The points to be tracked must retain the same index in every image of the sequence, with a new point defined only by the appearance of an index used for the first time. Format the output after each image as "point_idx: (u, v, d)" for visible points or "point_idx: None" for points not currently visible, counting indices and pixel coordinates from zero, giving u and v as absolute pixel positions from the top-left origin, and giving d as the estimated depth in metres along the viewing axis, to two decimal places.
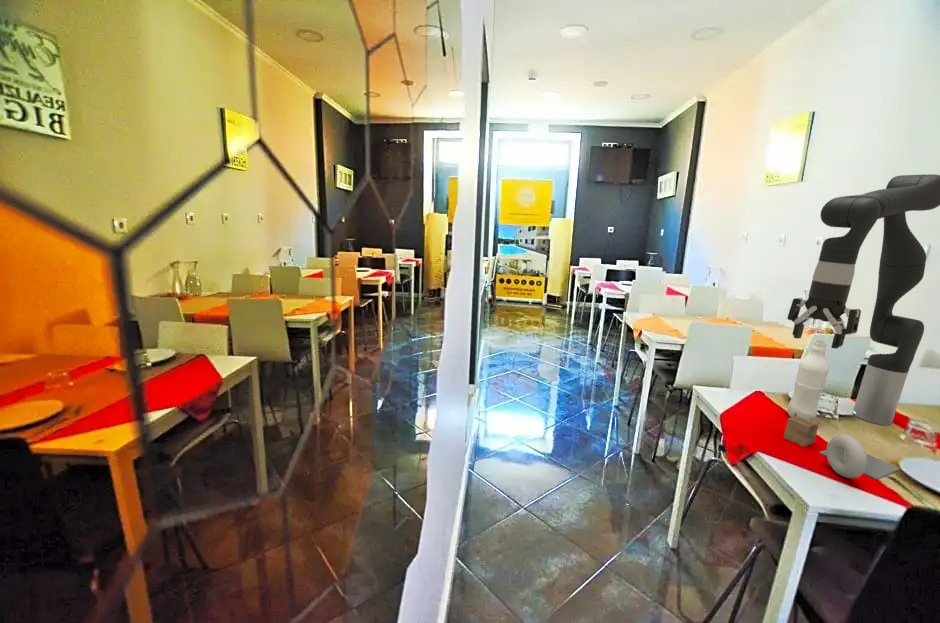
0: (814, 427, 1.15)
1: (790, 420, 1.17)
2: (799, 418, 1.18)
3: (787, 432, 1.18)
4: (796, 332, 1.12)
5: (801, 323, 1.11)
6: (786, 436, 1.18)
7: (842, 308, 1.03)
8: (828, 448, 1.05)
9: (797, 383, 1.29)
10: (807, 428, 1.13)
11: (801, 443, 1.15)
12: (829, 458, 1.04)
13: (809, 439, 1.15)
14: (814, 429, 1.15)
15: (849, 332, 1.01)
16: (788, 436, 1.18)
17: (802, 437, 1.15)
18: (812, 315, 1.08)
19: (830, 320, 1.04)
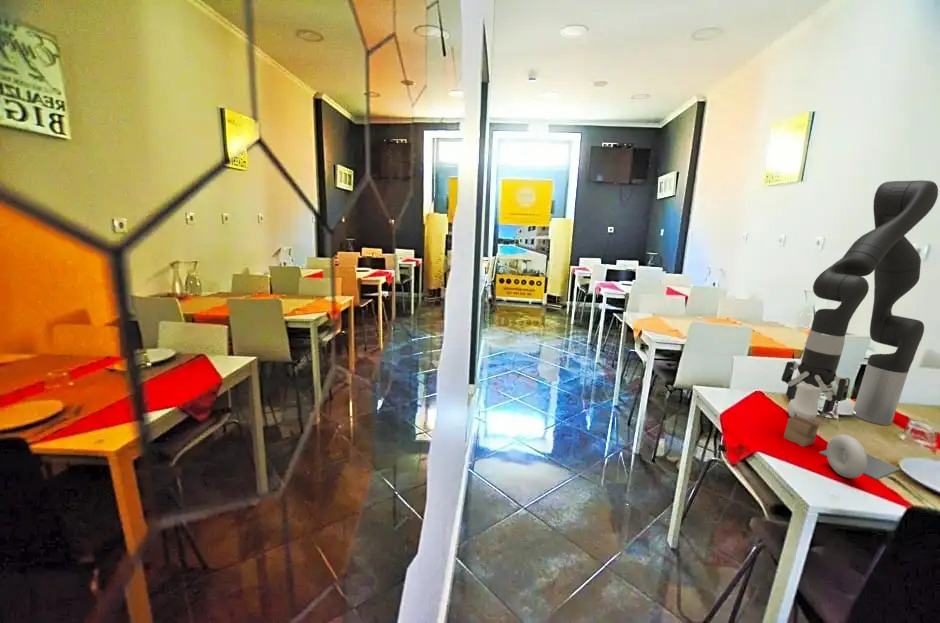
0: (814, 427, 1.15)
1: (790, 420, 1.17)
2: (799, 418, 1.18)
3: (787, 432, 1.18)
4: (789, 394, 1.18)
5: (794, 385, 1.18)
6: (786, 436, 1.18)
7: (832, 376, 1.09)
8: (828, 448, 1.05)
9: None
10: (808, 428, 1.13)
11: (801, 443, 1.15)
12: (829, 458, 1.04)
13: (809, 439, 1.15)
14: (814, 429, 1.15)
15: (839, 400, 1.08)
16: (788, 436, 1.18)
17: (802, 437, 1.15)
18: (804, 379, 1.15)
19: (821, 386, 1.11)
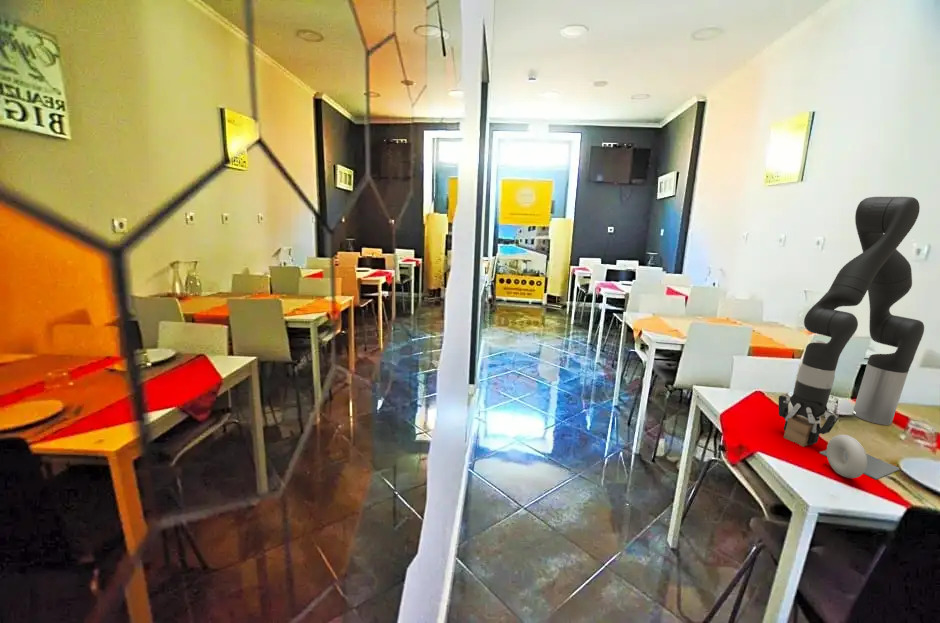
0: None
1: (790, 420, 1.17)
2: (799, 418, 1.18)
3: (787, 432, 1.18)
4: None
5: None
6: (786, 436, 1.18)
7: (823, 410, 1.11)
8: (828, 448, 1.05)
9: None
10: (808, 428, 1.13)
11: (801, 443, 1.15)
12: (829, 458, 1.04)
13: None
14: None
15: (822, 433, 1.11)
16: (788, 436, 1.18)
17: (802, 437, 1.15)
18: (799, 412, 1.16)
19: (809, 419, 1.14)
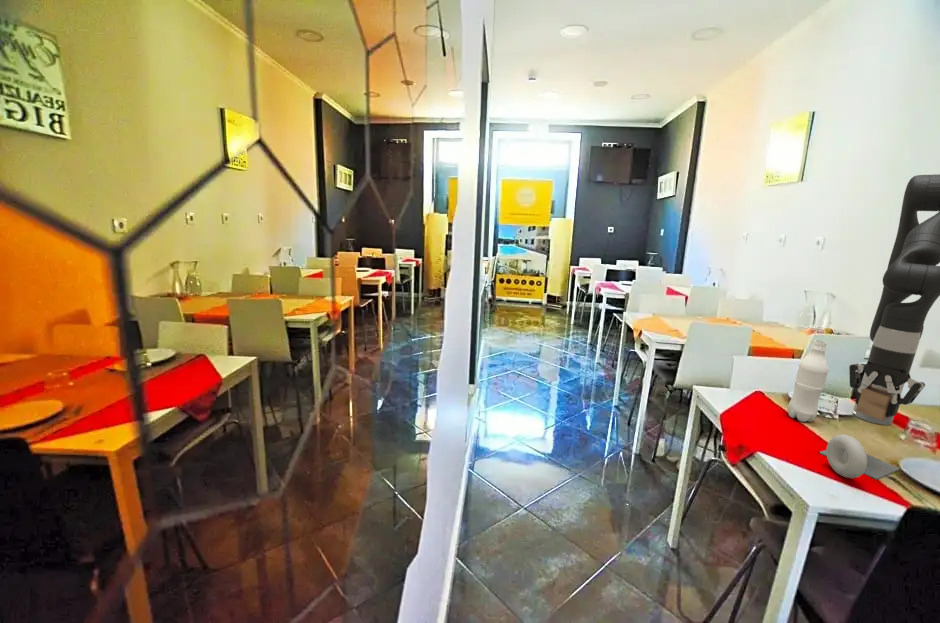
0: None
1: (865, 391, 1.05)
2: (874, 389, 1.06)
3: (861, 404, 1.06)
4: None
5: None
6: (859, 409, 1.06)
7: (906, 378, 0.99)
8: (828, 448, 1.05)
9: (797, 383, 1.29)
10: (887, 398, 1.01)
11: (879, 416, 1.03)
12: (829, 458, 1.04)
13: None
14: None
15: (905, 403, 0.99)
16: (862, 409, 1.06)
17: (880, 409, 1.03)
18: (875, 381, 1.04)
19: (889, 388, 1.02)
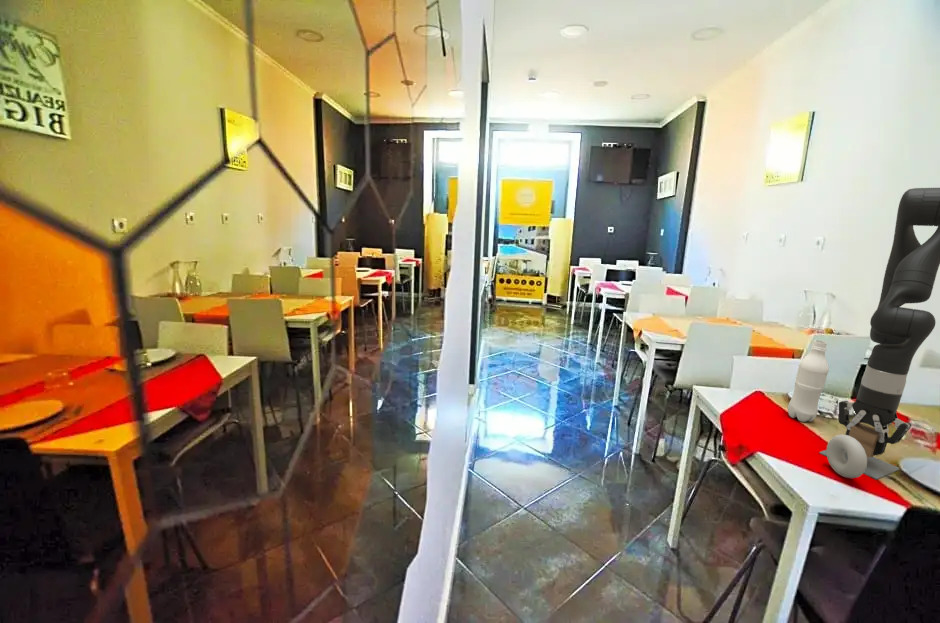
0: None
1: (853, 428, 1.07)
2: (863, 426, 1.08)
3: None
4: None
5: None
6: None
7: (893, 418, 1.02)
8: (828, 448, 1.05)
9: (797, 383, 1.29)
10: (875, 437, 1.04)
11: (866, 454, 1.05)
12: (829, 458, 1.04)
13: None
14: None
15: (892, 442, 1.02)
16: None
17: (867, 447, 1.05)
18: (863, 419, 1.07)
19: (876, 427, 1.04)
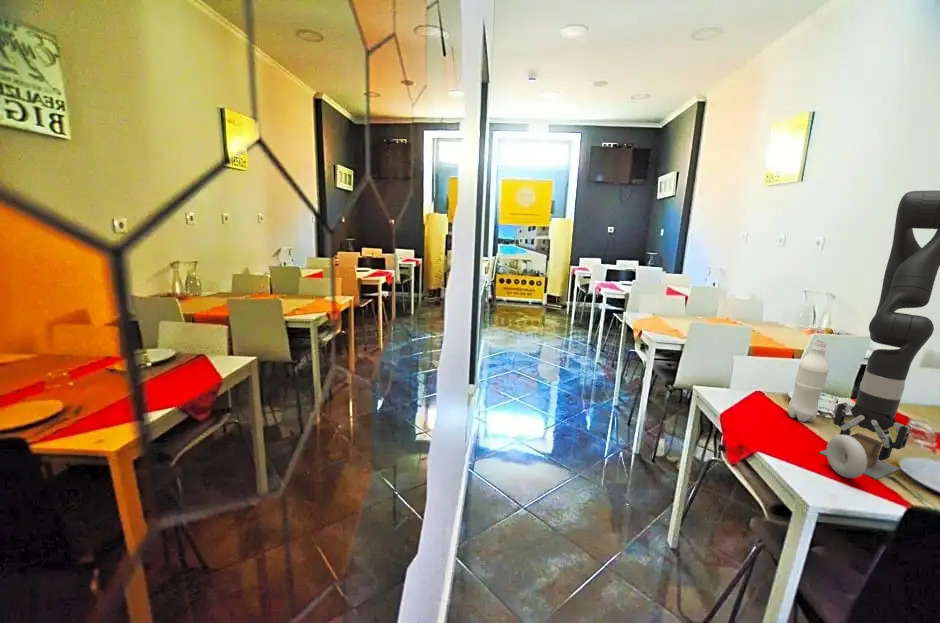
0: (878, 446, 1.06)
1: None
2: (860, 436, 1.09)
3: None
4: None
5: (848, 429, 1.11)
6: (845, 455, 1.09)
7: (892, 422, 1.02)
8: (828, 448, 1.05)
9: (797, 383, 1.29)
10: (871, 447, 1.04)
11: None
12: (829, 458, 1.04)
13: (872, 459, 1.06)
14: (877, 448, 1.06)
15: (897, 448, 1.01)
16: None
17: None
18: (860, 423, 1.07)
19: (878, 432, 1.04)
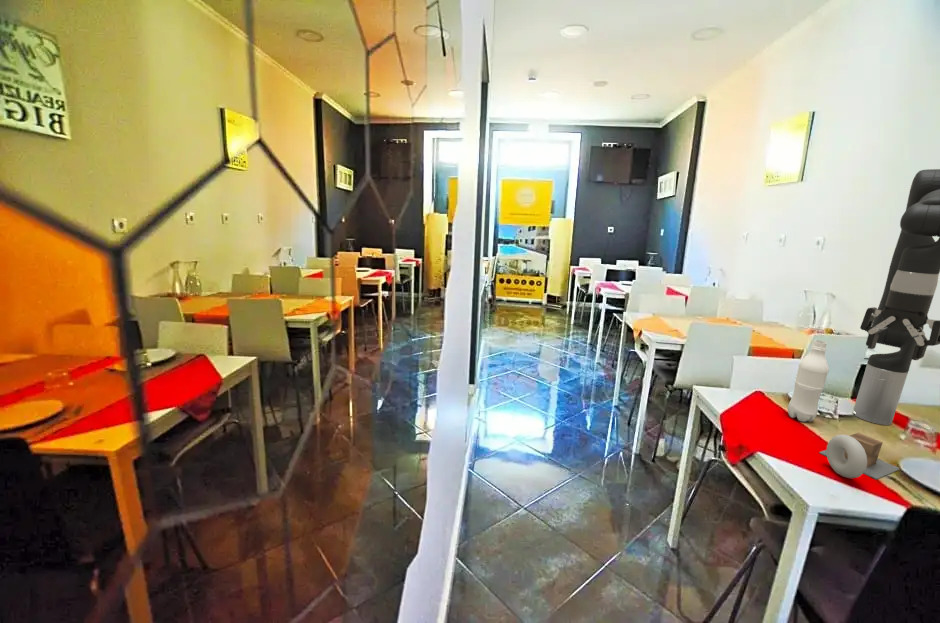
0: (878, 446, 1.06)
1: None
2: (860, 436, 1.09)
3: None
4: (870, 342, 1.09)
5: (876, 333, 1.08)
6: (845, 455, 1.09)
7: (924, 319, 1.00)
8: (828, 448, 1.05)
9: (797, 383, 1.29)
10: (871, 447, 1.04)
11: None
12: (829, 458, 1.04)
13: (872, 459, 1.06)
14: (877, 448, 1.06)
15: (933, 344, 0.98)
16: None
17: None
18: (889, 325, 1.05)
19: (911, 331, 1.01)
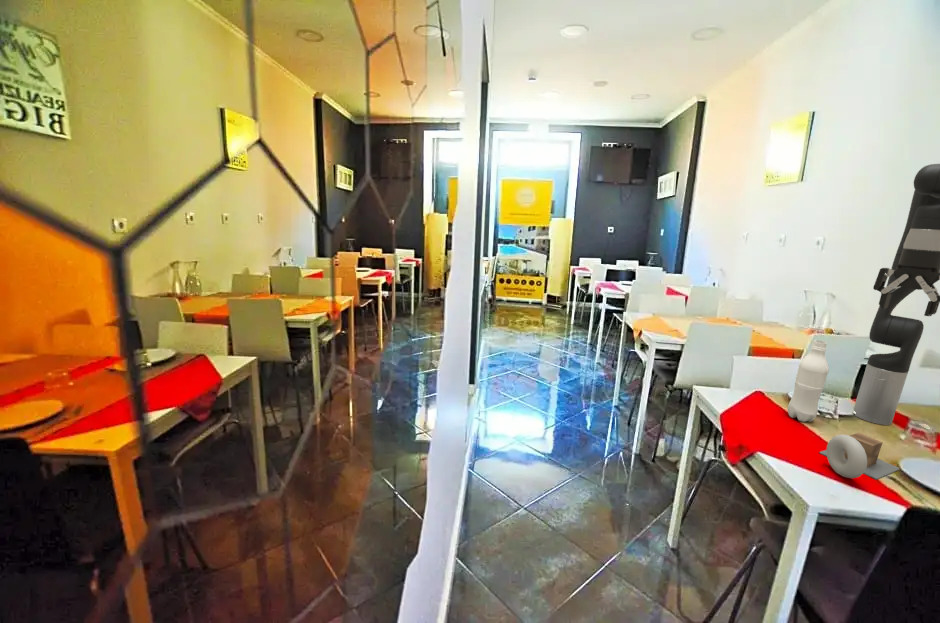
0: (878, 446, 1.06)
1: None
2: (860, 436, 1.09)
3: None
4: (883, 302, 1.11)
5: (888, 293, 1.11)
6: (845, 455, 1.09)
7: (937, 275, 1.02)
8: (828, 448, 1.05)
9: (797, 383, 1.29)
10: (871, 447, 1.04)
11: None
12: (829, 458, 1.04)
13: (872, 459, 1.06)
14: (877, 448, 1.06)
15: None
16: None
17: None
18: (902, 284, 1.08)
19: (924, 288, 1.04)
